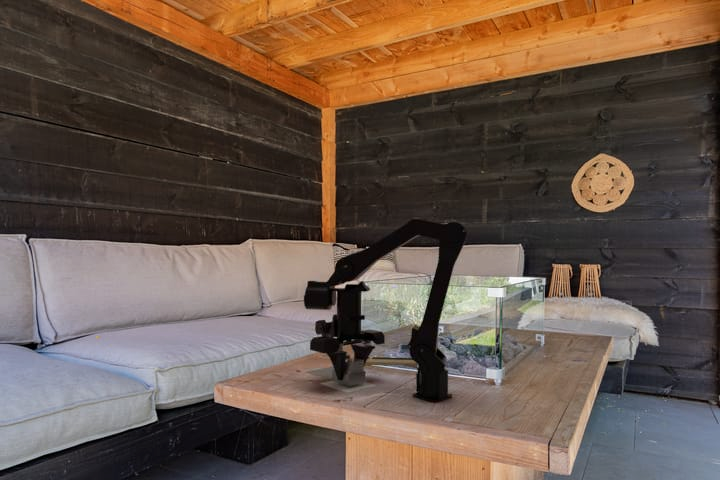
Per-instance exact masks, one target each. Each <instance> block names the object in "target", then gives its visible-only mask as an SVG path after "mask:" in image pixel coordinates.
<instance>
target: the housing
mask: <svg viewBox="0 0 720 480" xmlns="http://www.w3.org/2000/svg"><path fill="white" fill-rule="evenodd" d="M364 367H365V365H364V360H361V359H357V358H354V356H353V357H352V356H351V355H350V354H346V361H345V367H344V374H343V378H342V380H341V381H340V380H338V379H337V376H336V373H335V370H332V380H331V381H335V382H339V383H342V384H345V385H348V386H350V385H354V384H359V383H363V382H366V370H364V369H365V368H364Z"/></svg>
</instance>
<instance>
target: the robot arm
mask: <svg viewBox="0 0 720 480" xmlns="http://www.w3.org/2000/svg"><path fill="white" fill-rule="evenodd" d="M467 233H468V232H467V229H466V228H465V226H464V225H463V224H462V223H460V222H458V221H450V222H447V223H446V224H444V223H440V222H435V221H431V220H430V221H429V220H424V219H421V218H419V217H413V218H411V219H409V220H408V221H407V222H406V223H405V224H404V225H402V226H400V227H398V228H397V229H395V230H394V231H392V232H390V233H388V234H387V235H386V236H384V237H383V238H381V239H379V240H378V241H376V242H374V243H373V244H372V245H369V246H368V247H366V248H364V249H362V250H359V251H355V252H354V253H351V254H349V255H345V256H343V257H341V258H339V259H338V260H337V261H336V263H335V265H334V271H333V273H332V274H331V276H330V277H329V279H327V281H317V280H307V285H306V287H305V292H304V295H303V304H304V308H305V309H306V310H315V311H316V310H319V311H321V310H322V311H330V310H332V307H335V306H336V313H335V314H333V315H332V317H331V318H332V321H328V322H327V321H326V320H325V319H320V320H317V321H315V327H314V330H315V335H317V336H315V337H312V338H311V340H310V342H309V350H310V351H314V352H318V353H322V354H326V355H327V356H328V357H329V360H330V362H331V364H332V367H334V370H335V373H336V376H337V379H338V380H340V381H341V380H342V378H343V374H344V367H345V361H346V355H348V352H347V351H345V350H344V349H343V347H344V346H350V347H351V348H352V351H353V358H357V359H361V360H364V366H366V365H365V363H366V361H367V359H368V357H369V358H370V356H371V354H372V351H373V350H375V349H376V346H378V345H384V344H385V343H386V340H385V335H384V332H383V331H381V330H376V329H375V330H374V329H363V330H362V321H365V320H366V315H365V314H362V293H364V292H365V293H367V292H370V291H371V288H370V287H369V286H368V285H367V284H366V283H365V281H364V280H362V281H360V282H358V283H350V282H355V281H357V280H359V279H360V278H361V277H363V276H364V275H365V274H366V273H367V272H368V271H369V270H371V268H372V267H373V266H374V265H375V264H376V263H377V262H379V261H380V260H382V259H383V258H385V257H387V256H388V255H390V254H391V253H393V252H395V251H396V250H398V249H400V248H401V247H402V246H404V245H406V244H407V243H409V242H411V241H413V240H414V239H415V238H417V237H422V238H427V239H431V240H435V241H438V243H439V244H438V259H437V264H436V269H435V272H434V277H433V281H432V284H431V287H430V291H429V295H428V298H427V302H426V306H425V310H424V314H423V319H422V320H421V323H420V325H417V324H414V325H413V327H412V328H411V334H410V341H409V342H408V343H407V347H409V350H408V351H409V352H408V353H409V356H410V358H412V359H413V360H414V361H415V362H416V363H417V364H418V369H417V373H416V374H415V376H416V377H415V379H416V380H415V382H416V383H415V385H416V386H415V387H416V388H415V391H416V392H414V393H412V397H415V398H417V399H422V400H426V401H428V402H432V403H438V402H440V401H444V400H447V399H450V398H452V397H453V394H452V393H449V370H448V369H446V368H445V367H446V362H447V356H446V355H445V354H444V353H443V351H441V350H440V348H438V344H439V329H440V320H441V318H442V313H443V308H444V306H445V302H446V299H447V293H448V290H449V286H450V283H451V278H452V275H453V271H454V267H455V265H456V263H457V260H458V258H459V256H460V254H461V252H462V250H463V248H464V245H465V243H466V241H467V238H468V237H467V236H468V234H467ZM344 284H345V286H344V287H337V286H340V285H341V286H342V285H344ZM318 335H319V336H318ZM320 335H321V336H320ZM372 342H373V343H374V345H372ZM375 345H376V346H375Z"/></svg>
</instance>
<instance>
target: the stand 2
mask: <svg viewBox="0 0 720 480" xmlns="http://www.w3.org/2000/svg"><path fill="white" fill-rule="evenodd" d="M319 385H322V386H324V387H325V386H326V387H329V388H332V389H335V390H337V391H340V392H343V393H346V394H349V393H354V392H358V391H361V390H362V391H363V390H366V389H370V388H372V387H377V386H378V385H377V384H374V383H370V382H367V381H365V382H363V383H359V384H354V385H350V386H348V385H345V384H342V383H339V382H335V381H332V380H329V381H325V382H320V383H319Z"/></svg>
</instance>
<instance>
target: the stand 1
mask: <svg viewBox="0 0 720 480" xmlns="http://www.w3.org/2000/svg"><path fill="white" fill-rule="evenodd" d="M332 370H334V367H333V366H329V367H324V368H319V369H314V370H312V369H311V370H308V371H306V373H307V374H310V375H313V376H316V377H320V378H322V379H325V380H326V379H327V380H329V381H332Z"/></svg>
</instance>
